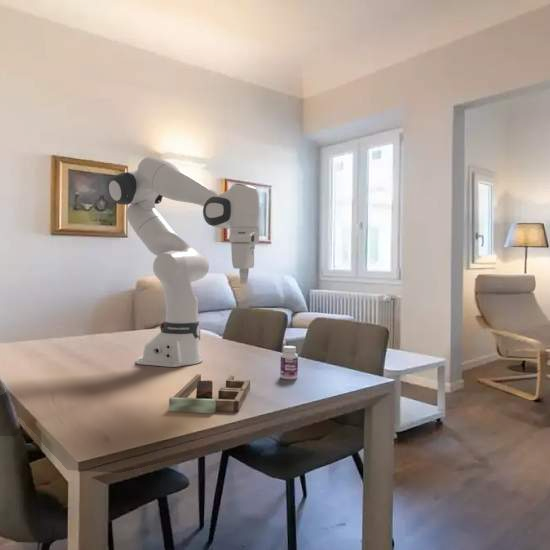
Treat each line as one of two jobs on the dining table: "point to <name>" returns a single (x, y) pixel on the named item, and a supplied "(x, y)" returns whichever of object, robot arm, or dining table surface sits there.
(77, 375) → the dining table surface
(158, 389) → the dining table surface
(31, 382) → the dining table surface
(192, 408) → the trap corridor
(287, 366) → the pill bottle
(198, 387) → the brick
